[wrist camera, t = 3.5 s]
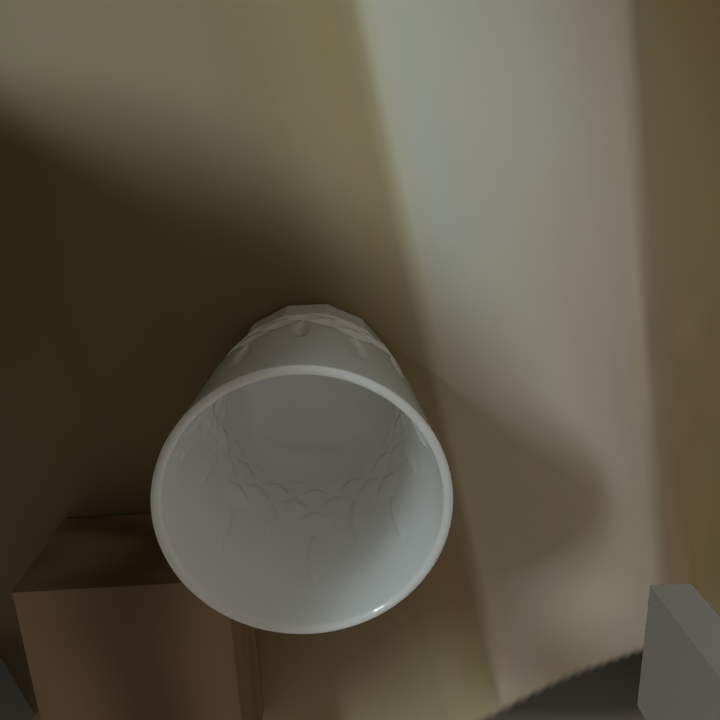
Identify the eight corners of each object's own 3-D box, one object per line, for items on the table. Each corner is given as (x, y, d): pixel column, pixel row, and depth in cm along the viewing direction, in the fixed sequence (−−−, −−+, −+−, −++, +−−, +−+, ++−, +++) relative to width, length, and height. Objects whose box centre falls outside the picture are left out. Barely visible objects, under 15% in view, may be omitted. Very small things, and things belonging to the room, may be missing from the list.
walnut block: (104, 722, 31) (64, 825, 26) (66, 518, 28) (11, 592, 23) (263, 712, 31) (251, 811, 27) (243, 508, 28) (226, 580, 23)
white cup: (334, 503, 28) (337, 680, 19) (176, 404, 27) (92, 543, 17) (447, 361, 27) (514, 476, 17) (287, 246, 25) (262, 302, 15)
